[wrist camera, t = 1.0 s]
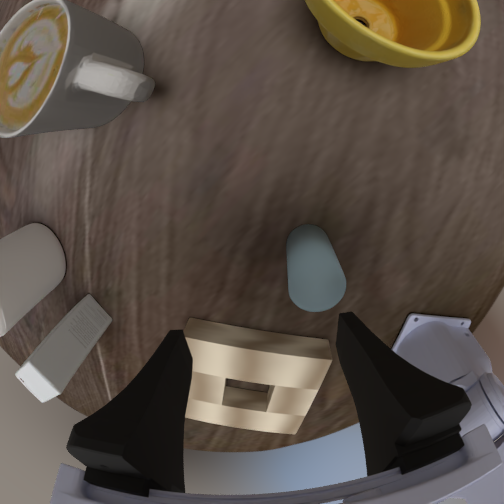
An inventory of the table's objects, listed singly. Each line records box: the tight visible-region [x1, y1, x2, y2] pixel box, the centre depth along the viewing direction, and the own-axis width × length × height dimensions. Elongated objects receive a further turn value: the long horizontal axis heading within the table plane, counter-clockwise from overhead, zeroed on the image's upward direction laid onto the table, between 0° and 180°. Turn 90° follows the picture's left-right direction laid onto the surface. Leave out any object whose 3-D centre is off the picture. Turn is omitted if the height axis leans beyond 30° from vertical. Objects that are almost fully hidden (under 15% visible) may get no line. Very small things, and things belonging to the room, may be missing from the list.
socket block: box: [183, 317, 332, 434], centre depth 29 cm, size 14×14×3 cm
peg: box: [286, 224, 346, 312], centre depth 21 cm, size 4×4×7 cm
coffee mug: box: [0, 0, 155, 138], centre depth 15 cm, size 13×10×10 cm
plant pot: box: [305, 0, 481, 68], centre depth 12 cm, size 10×10×10 cm
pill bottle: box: [0, 223, 66, 337], centre depth 20 cm, size 8×8×15 cm
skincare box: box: [15, 294, 112, 403], centre depth 24 cm, size 6×4×12 cm
